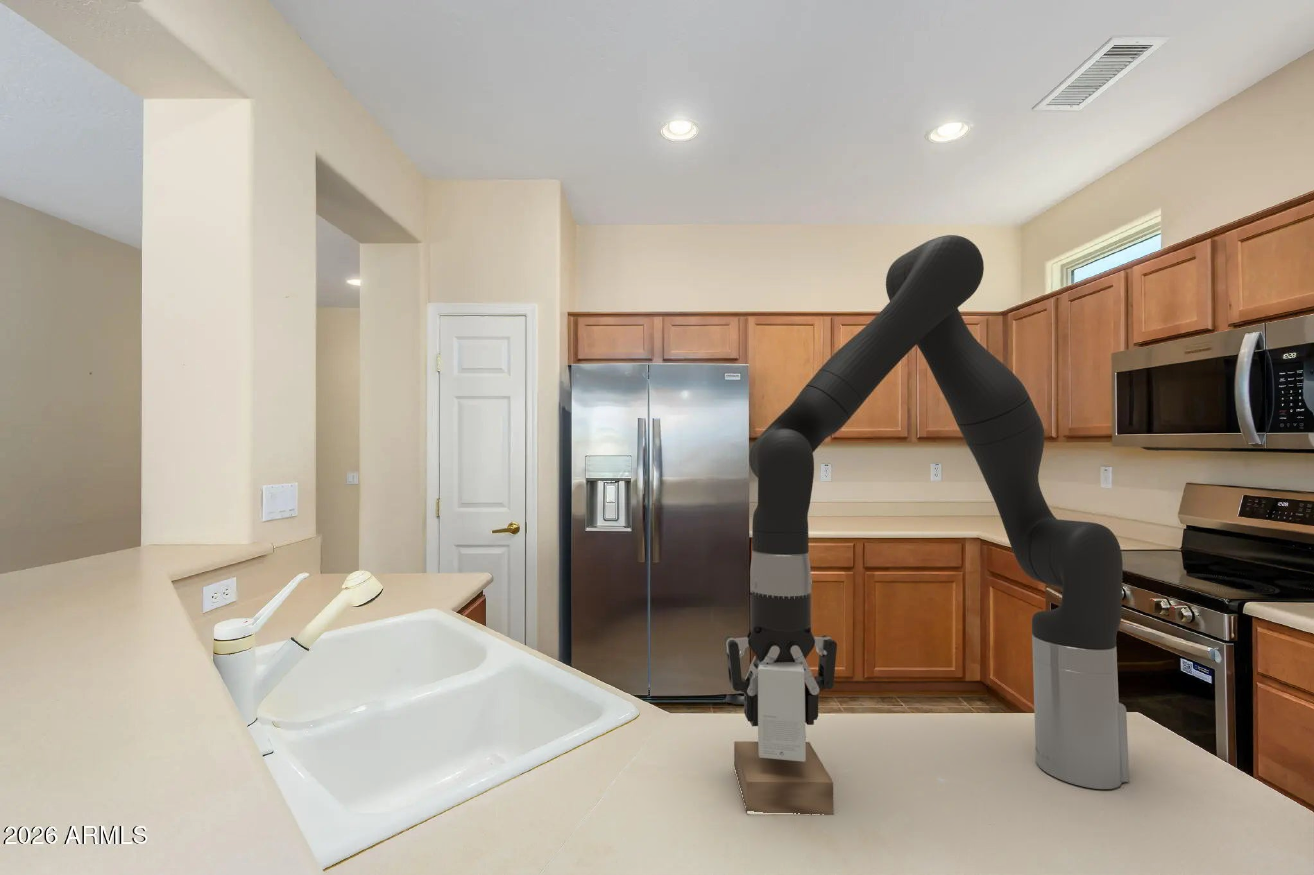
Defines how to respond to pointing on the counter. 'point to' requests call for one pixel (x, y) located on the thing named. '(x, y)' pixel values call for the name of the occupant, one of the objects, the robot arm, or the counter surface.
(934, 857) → the counter surface
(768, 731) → the small box
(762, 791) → the walnut block
